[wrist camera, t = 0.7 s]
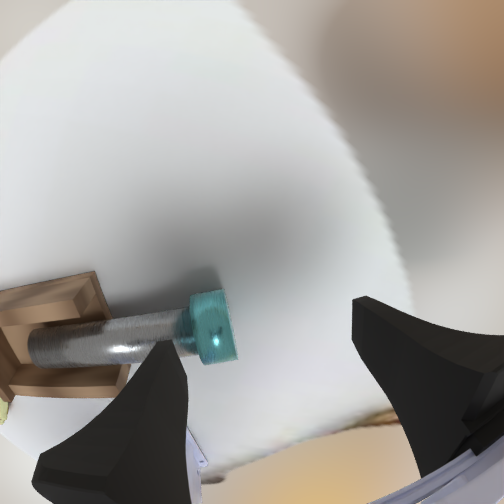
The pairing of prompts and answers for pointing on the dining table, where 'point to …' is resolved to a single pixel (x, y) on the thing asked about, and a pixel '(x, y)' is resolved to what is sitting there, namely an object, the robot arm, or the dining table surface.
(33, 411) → the dining table surface
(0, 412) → the decorated donut
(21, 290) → the housing
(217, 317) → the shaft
